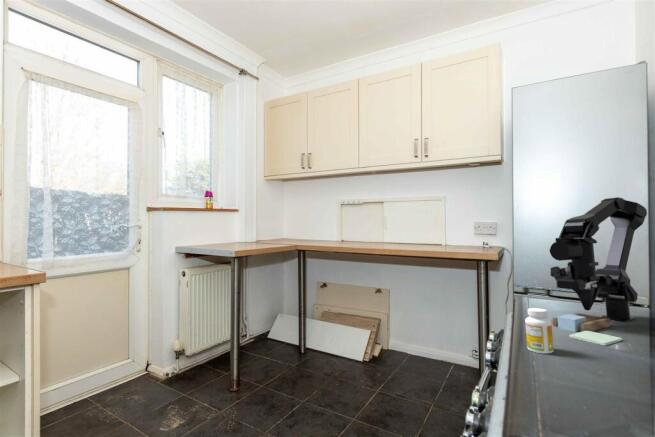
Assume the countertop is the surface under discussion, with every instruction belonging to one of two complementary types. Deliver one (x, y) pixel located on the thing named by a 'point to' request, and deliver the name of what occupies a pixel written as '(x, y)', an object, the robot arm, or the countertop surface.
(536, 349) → the supplement bottle
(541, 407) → the countertop surface
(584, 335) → the mat
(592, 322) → the u-shaped frame
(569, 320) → the block
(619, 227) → the robot arm
